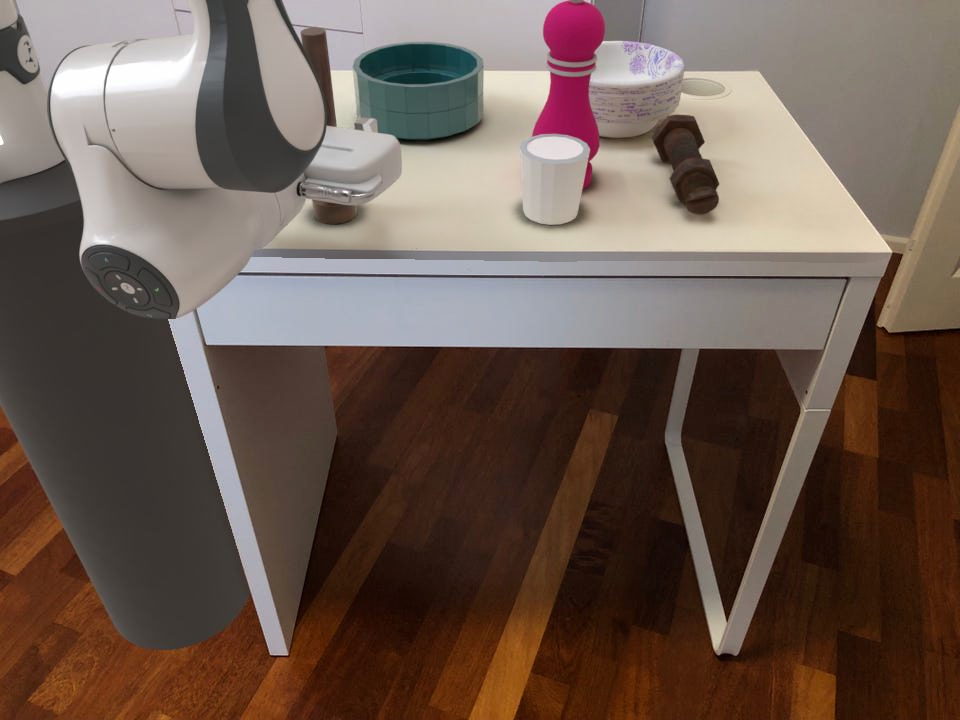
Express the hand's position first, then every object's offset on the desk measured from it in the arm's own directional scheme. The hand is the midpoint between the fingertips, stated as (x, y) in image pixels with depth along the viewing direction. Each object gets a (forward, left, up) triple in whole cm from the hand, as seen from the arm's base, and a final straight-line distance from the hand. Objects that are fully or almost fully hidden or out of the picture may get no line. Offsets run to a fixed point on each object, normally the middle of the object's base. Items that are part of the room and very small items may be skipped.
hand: (324, 119), depth 75 cm
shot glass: (+22, 0, -10) cm, 24 cm away
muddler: (0, 0, -10) cm, 10 cm away
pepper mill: (+24, +7, -10) cm, 27 cm away
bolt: (+37, +5, -10) cm, 39 cm away
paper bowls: (+32, +22, -10) cm, 40 cm away
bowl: (+8, +24, -10) cm, 27 cm away
